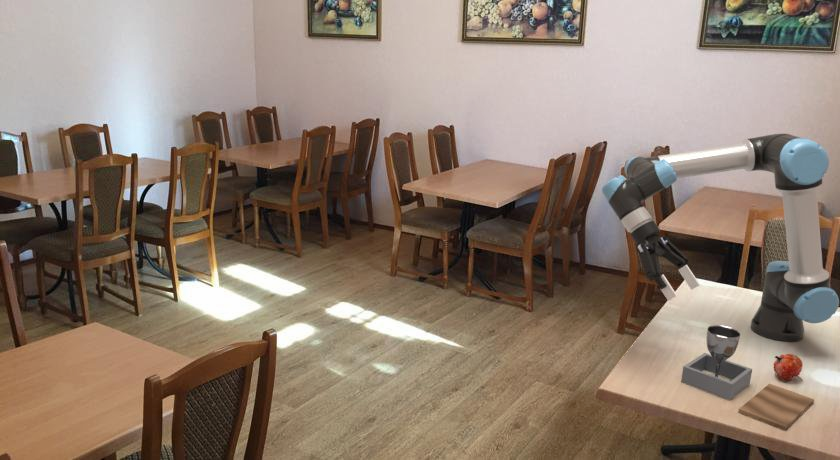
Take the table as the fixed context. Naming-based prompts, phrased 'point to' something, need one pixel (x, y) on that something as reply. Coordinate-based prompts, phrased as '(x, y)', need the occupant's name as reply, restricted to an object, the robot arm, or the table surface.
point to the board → (776, 406)
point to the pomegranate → (787, 367)
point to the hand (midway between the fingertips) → (684, 292)
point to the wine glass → (721, 343)
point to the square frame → (712, 383)
